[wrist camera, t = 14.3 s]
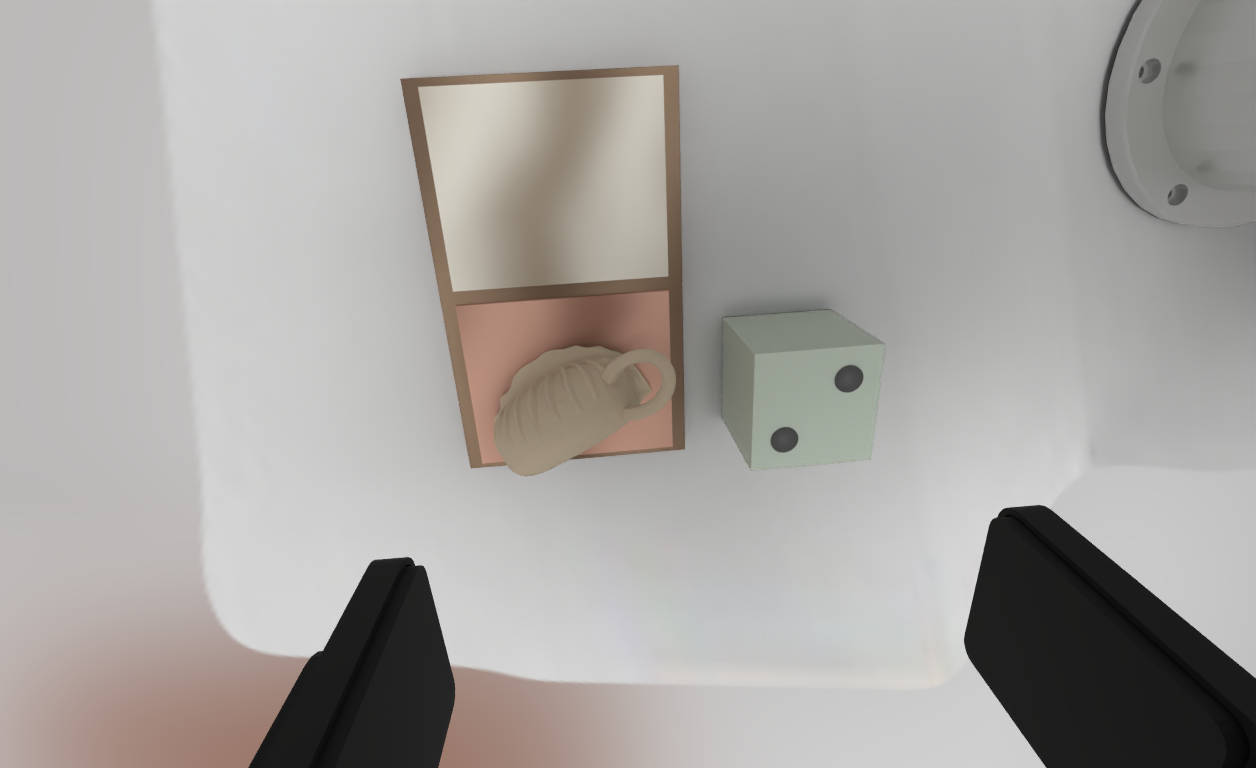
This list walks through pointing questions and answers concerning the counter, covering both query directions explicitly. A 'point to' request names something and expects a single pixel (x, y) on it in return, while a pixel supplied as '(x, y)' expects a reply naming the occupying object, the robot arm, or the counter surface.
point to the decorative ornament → (574, 404)
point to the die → (800, 388)
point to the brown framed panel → (553, 230)
